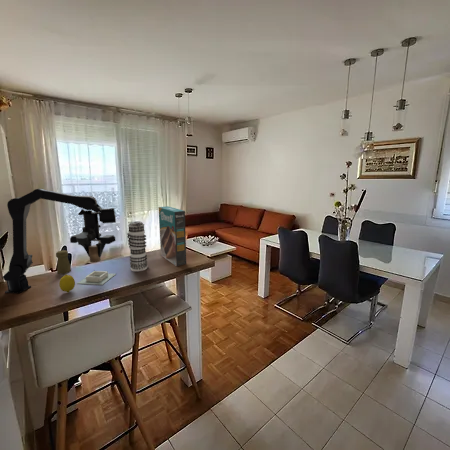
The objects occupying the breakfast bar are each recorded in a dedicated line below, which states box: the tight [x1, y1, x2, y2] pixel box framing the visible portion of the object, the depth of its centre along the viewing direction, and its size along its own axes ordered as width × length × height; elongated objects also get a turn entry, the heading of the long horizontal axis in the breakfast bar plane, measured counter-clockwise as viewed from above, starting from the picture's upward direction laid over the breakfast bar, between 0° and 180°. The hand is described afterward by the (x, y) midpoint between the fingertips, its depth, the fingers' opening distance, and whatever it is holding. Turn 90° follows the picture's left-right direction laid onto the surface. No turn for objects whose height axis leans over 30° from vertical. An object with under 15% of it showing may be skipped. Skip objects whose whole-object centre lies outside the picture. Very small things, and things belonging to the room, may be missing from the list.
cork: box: [55, 250, 72, 275], centre depth 125 cm, size 6×6×11 cm
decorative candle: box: [126, 220, 148, 272], centre depth 129 cm, size 9×9×25 cm
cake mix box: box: [158, 205, 187, 267], centre depth 142 cm, size 22×6×30 cm, turn 37°
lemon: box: [58, 274, 76, 293], centre depth 104 cm, size 6×6×8 cm
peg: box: [88, 244, 101, 263], centre depth 115 cm, size 4×4×7 cm
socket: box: [76, 270, 117, 286], centre depth 118 cm, size 12×12×2 cm
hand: (94, 256), depth 116 cm, fingers closed on peg, 4 cm apart
